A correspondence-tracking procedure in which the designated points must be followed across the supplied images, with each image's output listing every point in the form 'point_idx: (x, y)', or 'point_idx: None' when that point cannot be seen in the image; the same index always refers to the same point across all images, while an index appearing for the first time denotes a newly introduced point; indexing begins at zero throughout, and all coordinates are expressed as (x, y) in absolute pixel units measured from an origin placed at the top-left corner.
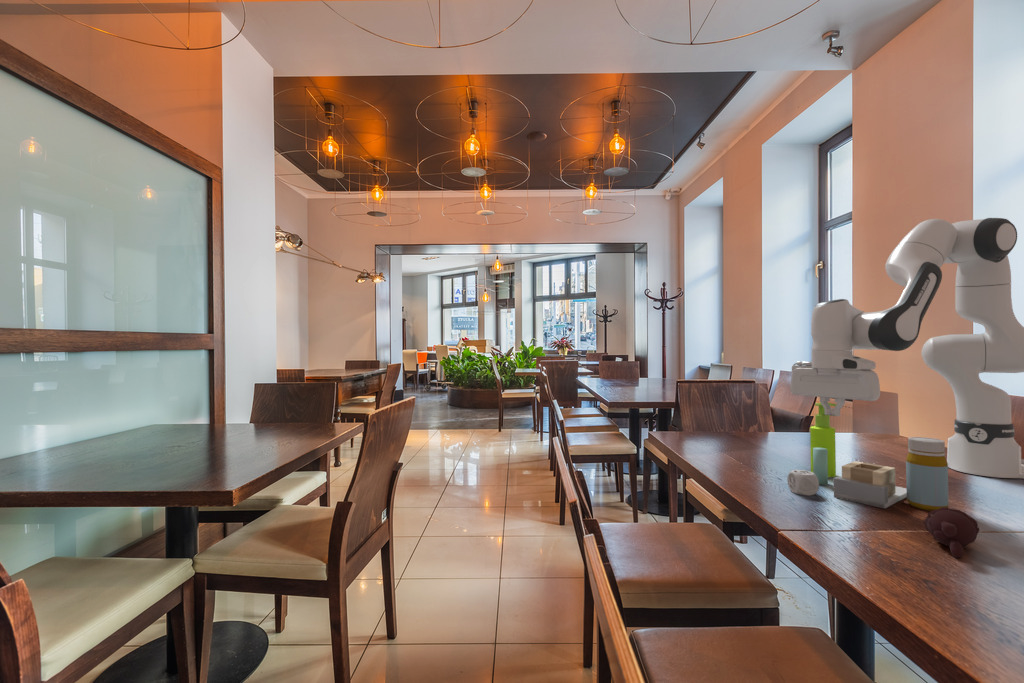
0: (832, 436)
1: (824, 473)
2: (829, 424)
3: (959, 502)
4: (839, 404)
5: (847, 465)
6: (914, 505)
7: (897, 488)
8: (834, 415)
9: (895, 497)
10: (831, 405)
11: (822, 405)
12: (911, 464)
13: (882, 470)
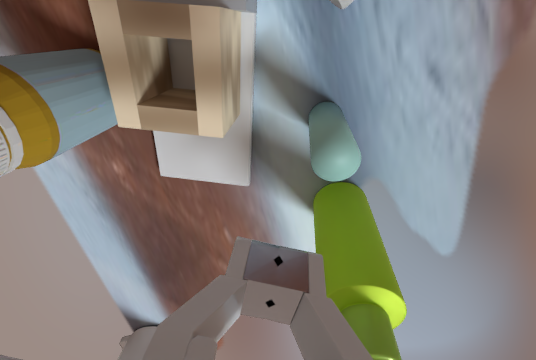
0: None
1: (314, 117)
2: None
3: (98, 167)
4: (178, 312)
5: (210, 37)
6: None
7: (179, 162)
8: (252, 240)
9: None
10: None
11: (346, 321)
12: (17, 70)
13: (112, 51)
